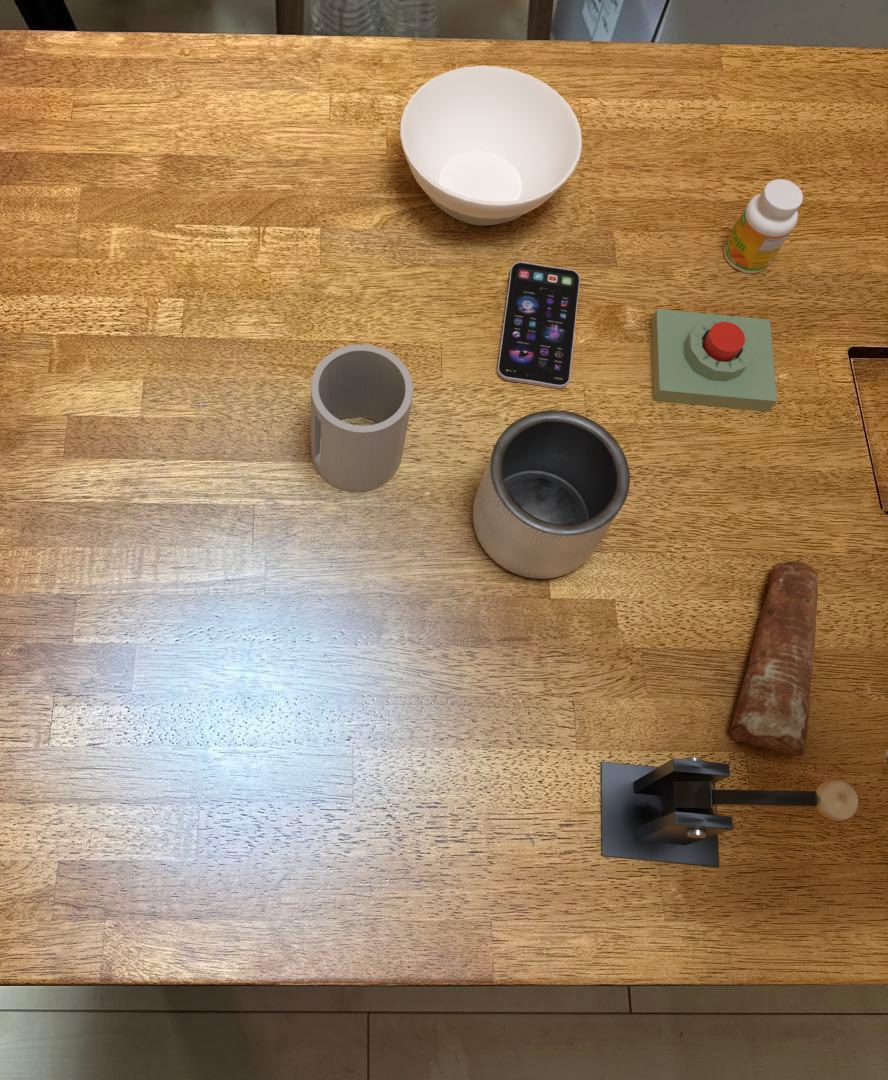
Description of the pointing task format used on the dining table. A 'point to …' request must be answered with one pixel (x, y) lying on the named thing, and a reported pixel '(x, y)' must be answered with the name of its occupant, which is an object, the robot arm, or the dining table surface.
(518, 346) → the smartphone
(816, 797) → the lever
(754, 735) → the brown cured sausage
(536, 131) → the bowl
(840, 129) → the dining table surface
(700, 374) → the button box
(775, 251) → the supplement bottle
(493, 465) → the planter
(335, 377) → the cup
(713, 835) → the lever base
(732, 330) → the button
